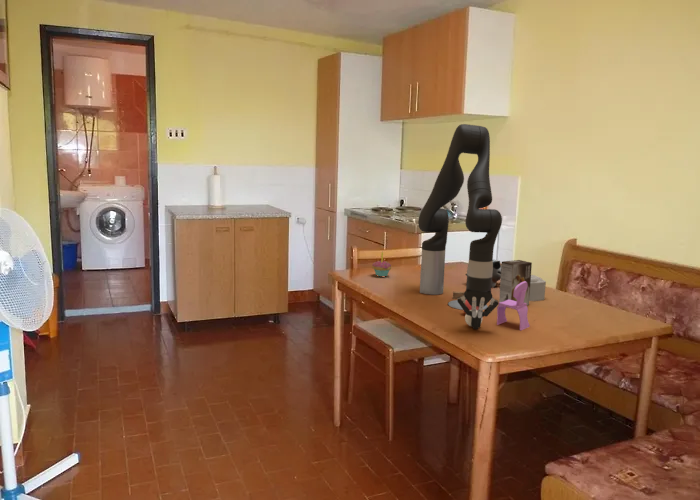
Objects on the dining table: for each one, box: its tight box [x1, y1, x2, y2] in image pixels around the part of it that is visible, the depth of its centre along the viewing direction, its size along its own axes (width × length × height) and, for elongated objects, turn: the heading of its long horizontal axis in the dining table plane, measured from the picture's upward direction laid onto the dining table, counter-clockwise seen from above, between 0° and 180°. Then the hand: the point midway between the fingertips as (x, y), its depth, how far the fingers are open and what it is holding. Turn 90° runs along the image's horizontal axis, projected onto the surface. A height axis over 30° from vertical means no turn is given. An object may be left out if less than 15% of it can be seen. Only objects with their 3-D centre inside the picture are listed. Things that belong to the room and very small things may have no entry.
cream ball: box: [464, 310, 484, 328], centre depth 174 cm, size 6×6×6 cm
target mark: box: [447, 299, 489, 311], centre depth 199 cm, size 14×14×1 cm
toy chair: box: [496, 281, 530, 331], centre depth 175 cm, size 8×9×15 cm
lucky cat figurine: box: [465, 259, 502, 289], centre depth 231 cm, size 15×12×14 cm
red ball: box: [462, 300, 478, 313], centre depth 187 cm, size 6×6×6 cm
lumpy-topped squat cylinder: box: [529, 274, 547, 302], centre depth 212 cm, size 10×13×9 cm
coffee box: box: [498, 259, 533, 306], centre depth 200 cm, size 9×6×16 cm
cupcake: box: [371, 250, 392, 277], centre depth 243 cm, size 9×8×12 cm
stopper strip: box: [452, 291, 466, 300], centre depth 208 cm, size 10×2×2 cm, turn 82°
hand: (475, 328), depth 170 cm, fingers closed
